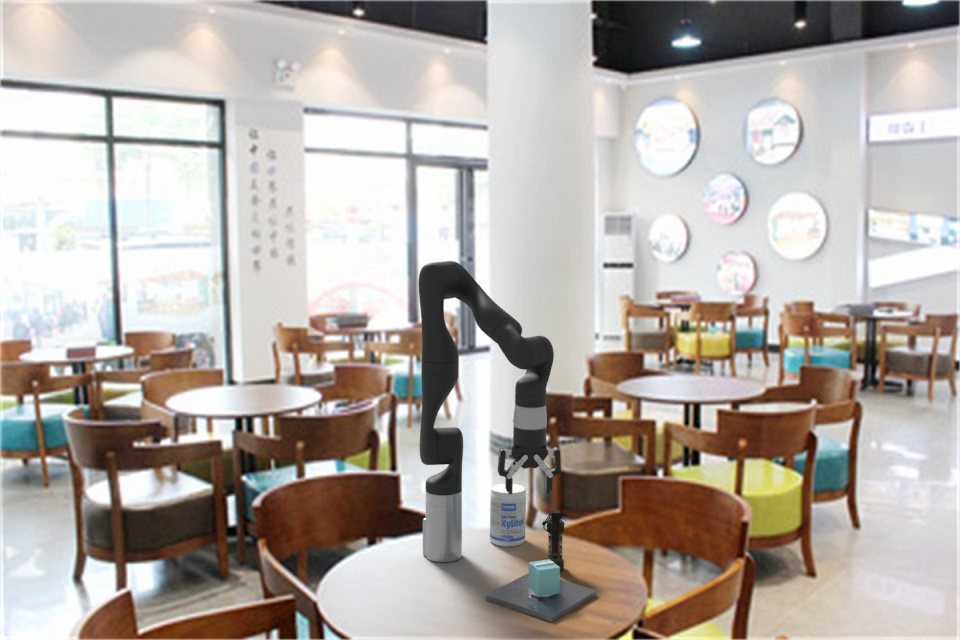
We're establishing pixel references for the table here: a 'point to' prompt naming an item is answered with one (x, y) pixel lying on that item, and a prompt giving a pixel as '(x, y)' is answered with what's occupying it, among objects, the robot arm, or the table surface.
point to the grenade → (555, 537)
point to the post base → (541, 598)
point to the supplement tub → (507, 515)
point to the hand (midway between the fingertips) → (528, 492)
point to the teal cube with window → (544, 577)
